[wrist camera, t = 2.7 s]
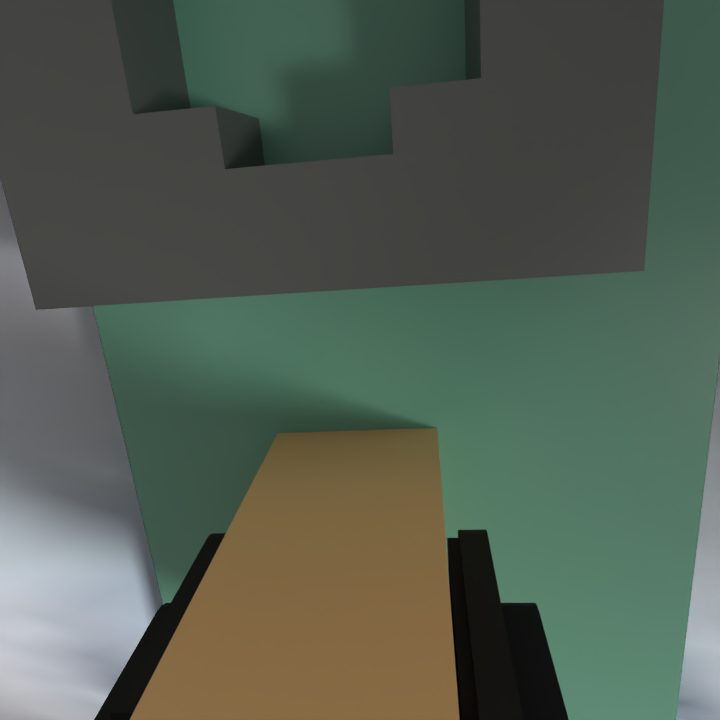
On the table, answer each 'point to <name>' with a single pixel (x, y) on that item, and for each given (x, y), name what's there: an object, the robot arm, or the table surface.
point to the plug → (322, 592)
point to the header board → (459, 354)
